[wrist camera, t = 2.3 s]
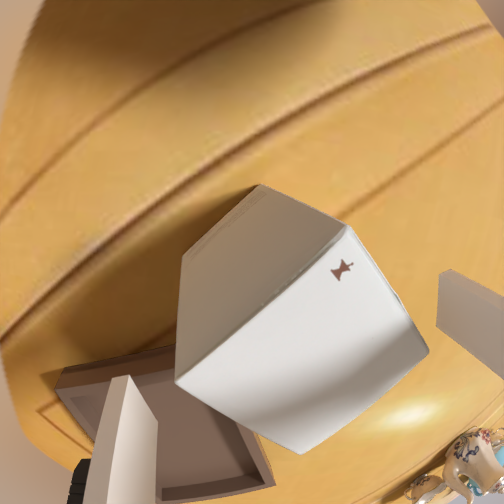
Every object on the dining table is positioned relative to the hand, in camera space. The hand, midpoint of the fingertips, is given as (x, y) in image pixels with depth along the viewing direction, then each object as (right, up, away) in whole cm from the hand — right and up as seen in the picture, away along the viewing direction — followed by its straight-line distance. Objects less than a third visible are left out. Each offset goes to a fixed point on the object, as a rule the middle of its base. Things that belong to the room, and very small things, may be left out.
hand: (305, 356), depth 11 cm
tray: (-9, -13, +14) cm, 21 cm away
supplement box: (-2, +4, +10) cm, 11 cm away
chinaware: (+39, -35, +30) cm, 60 cm away
